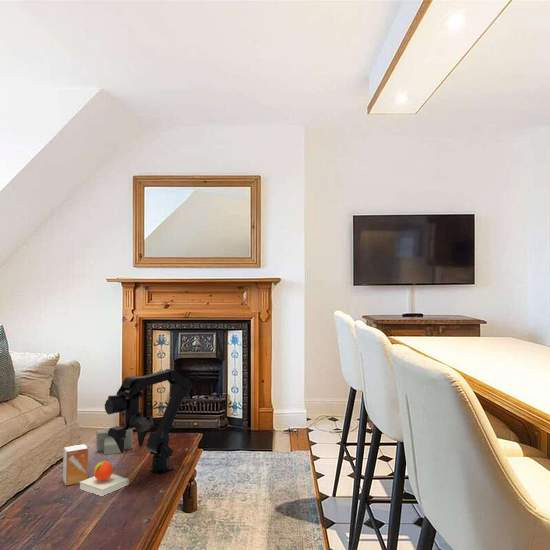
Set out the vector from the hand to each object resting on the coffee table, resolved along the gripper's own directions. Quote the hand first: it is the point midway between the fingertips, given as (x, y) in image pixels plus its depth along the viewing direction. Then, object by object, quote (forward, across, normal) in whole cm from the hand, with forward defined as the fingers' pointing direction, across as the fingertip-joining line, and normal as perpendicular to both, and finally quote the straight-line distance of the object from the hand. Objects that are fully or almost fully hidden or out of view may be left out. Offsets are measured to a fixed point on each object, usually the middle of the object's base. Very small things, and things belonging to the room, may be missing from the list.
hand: (131, 449), depth 189 cm
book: (+12, -10, +4) cm, 16 cm away
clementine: (+9, -11, +3) cm, 14 cm away
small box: (+12, -12, +18) cm, 25 cm away
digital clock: (+12, +20, +33) cm, 41 cm away
